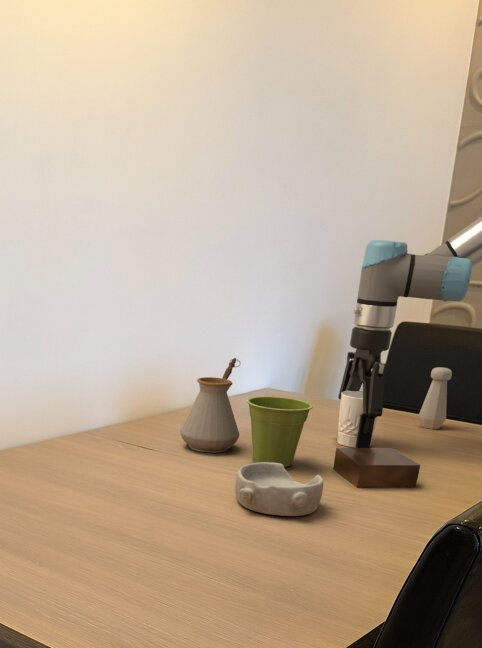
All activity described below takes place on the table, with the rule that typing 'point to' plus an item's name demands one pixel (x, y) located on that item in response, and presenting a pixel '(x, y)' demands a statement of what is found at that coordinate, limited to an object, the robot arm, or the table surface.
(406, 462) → the riser
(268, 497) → the dish
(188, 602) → the table surface
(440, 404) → the salt shaker
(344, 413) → the white cup
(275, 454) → the plant pot
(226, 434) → the coffee pot
